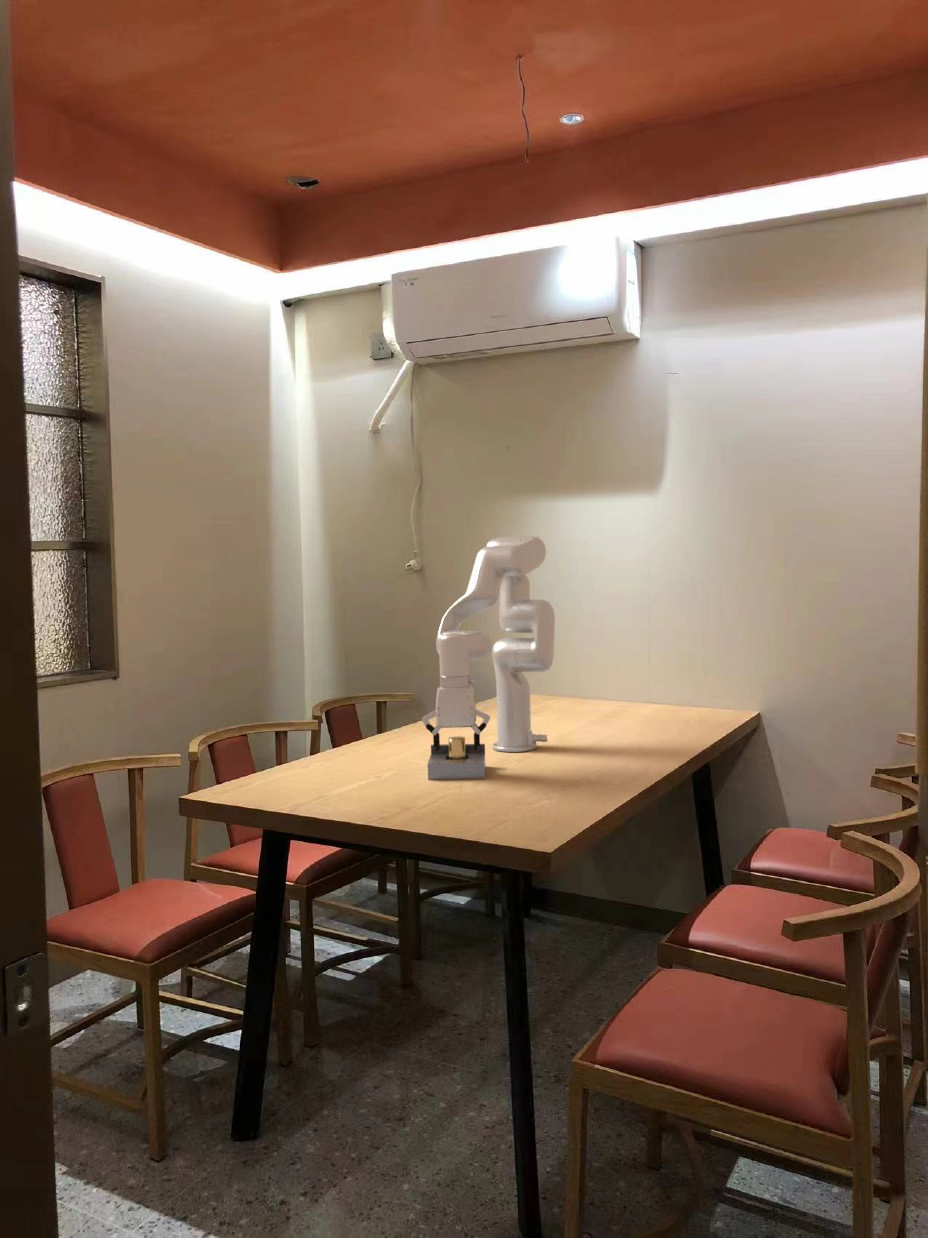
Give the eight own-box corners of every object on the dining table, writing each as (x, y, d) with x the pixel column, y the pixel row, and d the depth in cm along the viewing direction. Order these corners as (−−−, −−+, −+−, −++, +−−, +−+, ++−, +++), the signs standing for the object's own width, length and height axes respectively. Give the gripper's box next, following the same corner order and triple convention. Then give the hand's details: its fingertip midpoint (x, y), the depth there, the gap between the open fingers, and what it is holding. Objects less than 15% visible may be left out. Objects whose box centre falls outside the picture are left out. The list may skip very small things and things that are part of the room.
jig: (485, 766, 254) (484, 743, 254) (484, 778, 240) (483, 754, 240) (432, 767, 255) (431, 744, 255) (428, 779, 241) (427, 755, 241)
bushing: (466, 770, 250) (465, 736, 249) (465, 774, 246) (464, 739, 245) (449, 771, 250) (448, 736, 249) (449, 774, 246) (448, 739, 245)
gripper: (489, 679, 250) (491, 745, 251) (422, 681, 250) (424, 747, 251) (488, 683, 242) (490, 751, 243) (419, 685, 243) (421, 753, 244)
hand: (456, 749), depth 247 cm, fingers open, 9 cm apart
